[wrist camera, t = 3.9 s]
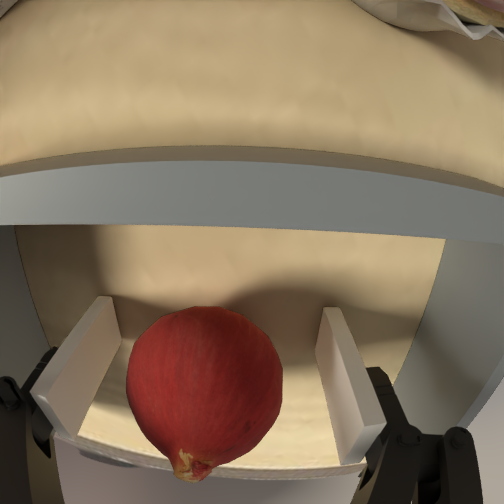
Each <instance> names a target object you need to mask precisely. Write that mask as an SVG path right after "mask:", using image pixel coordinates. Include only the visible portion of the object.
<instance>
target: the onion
mask: <svg viewBox="0 0 504 504" xmlns="http://www.w3.org/2000/svg"><path fill="white" fill-rule="evenodd" d="M282 383H283V368H282V365H281V363H280V360H279V357H278V354H277V352H276V350H275V348H274V347H273V345H272V343H271V341H270V339H269V337H268V336H267V335H266V334H265V333H264V332H263V331H262V330H260V329H259V328H258V327H257V326H256V325H254V324H253V323H252V322H251V321H249V320H248V319H247V318H246V317H244V316H243V315H241V314H238V313H236V312H233V311H230V310H227V309H224V308H222V307H198V306H194V307H191V308H188V309H184V310H181V311H178V312H174V313H171V314H168V315H165V316H162V317H160V318H159V319H158V320H157V321H156V322H155V323H154V324H153V325H151V326H150V327H149V328H148V329H147V330H146V331H145V332H144V333H143V334H142V335H141V336H140V337H139V338H138V340H137V341H136V342H135V343H134V346H133V349H132V352H131V355H130V358H129V364H128V371H127V378H126V394H127V398H128V402H129V405H130V408H131V410H132V412H133V415H134V417H135V419H136V422H137V424H138V426H139V427H140V429H141V431H142V433H143V434H144V435H145V437H146V438H147V439H148V440H149V441H150V442H151V443H152V444H153V445H154V446H155V447H156V448H157V449H158V450H159V451H160V452H161V453H162V454H163V455H165V456H166V457H168V458H169V460H170V462H171V465H172V467H173V469H174V475H175V476H176V477H177V478H178V479H181V480H183V481H186V482H190V483H197V482H199V481H201V480H203V479H204V478H205V477H206V476H208V475H209V473H211V472H212V469H213V468H214V467H216V466H219V465H222V464H226V463H229V462H231V461H233V460H235V459H237V458H239V457H241V456H242V455H244V454H246V453H248V452H250V451H251V450H252V449H253V448H254V447H255V446H256V445H257V444H258V443H259V442H260V441H261V440H262V438H263V437H264V436H265V435H266V433H267V432H268V431H269V430H270V428H271V427H272V426H273V424H274V422H275V421H276V419H277V417H278V415H279V413H280V408H281V404H282Z"/></svg>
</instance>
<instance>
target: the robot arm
mask: <svg viewBox="0 0 504 504" xmlns="http://www.w3.org/2000/svg"><path fill="white" fill-rule="evenodd" d="M121 343H122V338H121V334H120V330H119V326H118V322H117V318H116V314H115V309H114V305H113V300H112V297H108V296H98V297H97V298H96V299H95V301H94V302H93V303H92V304H91V306H90V307H89V308H88V310H87V311H86V312H85V313H84V315H83V316H82V317H81V319H80V320H79V321H78V323H77V324H76V325H75V327H74V328H73V329H72V331H71V332H70V333H69V335H68V336H67V338H66V339H65V340H64V342H63V343H62V344H61V346H60V347H59V348H57V347H53V348H51V349H50V350H49V351H47V352H46V353H45V354H44V355H43V357H42V358H41V360H40V363H38V364H37V365H36V367H35V369H34V370H33V371H32V372H31V374H30V375H29V377H28V378H27V380H26V381H25V383H24V384H23V386H22V387H21V389H20V388H19V386H18V385H17V383H16V381H15V380H14V378H12V377H10V376H3V377H0V504H65V503H64V499H63V494H62V490H61V485H60V479H59V474H58V467H57V461H56V454H55V446H54V439H53V436H52V435H51V432H52V430H53V428H54V429H55V431H56V432H57V433H58V435H59V436H61V437H64V438H67V439H70V440H73V441H75V439H76V436H77V434H78V432H79V429H80V427H81V425H82V423H83V420H84V418H85V416H86V414H87V412H88V409H89V407H90V405H91V403H92V401H93V399H94V397H95V394H96V392H97V390H98V388H99V386H100V384H101V382H102V380H103V378H104V376H105V374H106V372H107V370H108V368H109V366H110V364H111V362H112V360H113V358H114V356H115V354H116V352H117V350H118V348H119V346H120V344H121ZM315 356H316V360H317V364H318V368H319V372H320V376H321V380H322V385H323V389H324V393H325V397H326V402H327V406H328V410H329V415H330V419H331V423H332V428H333V432H334V437H335V442H336V446H337V451H338V456H339V460H340V465H348V464H354V463H360V462H361V461H362V459H363V458H364V456H365V457H366V461H367V465H366V466H365V468H364V469H363V470H362V471H361V473H360V474H359V476H358V477H361V479H360V481H359V484H358V486H357V489H356V492H355V494H354V496H353V499H352V501H351V503H350V504H411V501H412V504H483V496H482V488H481V480H480V474H479V467H478V461H477V456H476V450H475V446H474V441H473V438H472V435H471V433H470V432H469V431H468V430H467V429H465V428H463V427H458V426H455V427H451V428H450V429H448V430H447V431H446V432H445V434H444V435H436V434H424V433H422V432H421V431H420V430H419V429H418V428H417V427H415V426H413V425H410V424H409V422H408V420H407V418H406V416H405V413H404V411H403V409H402V406H401V404H400V402H399V400H398V397H397V395H396V394H395V391H394V388H393V386H392V384H391V382H390V380H389V377H388V375H387V374H386V373H385V372H384V371H383V370H382V369H381V368H380V367H369V368H365V366H364V363H363V361H362V358H361V356H360V353H359V351H358V349H357V346H356V344H355V342H354V339H353V337H352V335H351V332H350V330H349V328H348V325H347V323H346V321H345V319H344V316H343V314H342V312H341V309H340V307H324V308H323V313H322V318H321V323H320V328H319V333H318V338H317V343H316V347H315Z"/></svg>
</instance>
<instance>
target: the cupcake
mask: <svg viewBox="0 0 504 504" xmlns="http://www.w3.org/2000/svg"><path fill="white" fill-rule="evenodd" d="M351 1H353V2H354V3H355V4H357V5H358V6H359V7H361V8H362V9H364V10H365V11H367V12H368V13H370V14H372V15H373V16H375V17H377V18H378V19H380V20H382V21H384V22H387V23H390V24H393V25H396V26H399V27H402V28H405V29H409V30H414V31H420V32H422V31H441V30H451V31H454V32H456V33H458V34H461V35H463V36H466V37H468V38H470V39H472V40H477V39H481V38H483V37H484V36H485V35H486V36H489V37H492V38H495V39H498V40H501V41H503V42H504V0H351Z"/></svg>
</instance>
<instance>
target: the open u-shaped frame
mask: <svg viewBox="0 0 504 504" xmlns="http://www.w3.org/2000/svg"><path fill="white" fill-rule="evenodd" d="M43 224H121V225H182V226H220V227H249V228H275V229H297V230H318V231H337V232H354V233H371V234H387V235H401V236H415V237H429V238H442V239H446V242H445V246H444V250H443V254H442V258H441V261H440V265H439V268H438V272H437V275H436V279H435V282H434V285H433V288H432V291H431V294H430V297H429V300H428V303H427V306H426V309H425V312H424V315H423V317H422V320H421V323H420V325H419V328H418V331H417V333H416V336H415V338H414V341H413V343H412V345H411V348H410V350H409V353H408V355H407V357H406V359H405V362H404V364H403V366H402V368H401V370H400V373H399V375H398V377H397V379H396V381H395V383H394V385H393V388H394V391H395V394H396V395H397V397H398V400H399V402H400V404H401V406H402V409H403V411H404V413H405V416H406V418H407V420H408V422H409V424H410V425H413V426H415V427H417V428H418V429H419V430H420V431H421V432H422V433H424V434H436V435H444V434H445V432H446V431H447V430H448V429H450V428H451V427H455V426H458V427H463V428H465V429H466V428H467V427H468V426H469V424H470V423H471V422H472V421H473V419H474V418H475V417H476V416H477V414H478V413H479V412H480V410H481V409H482V408H483V406H484V405H485V403H486V402H487V401H488V399H489V398H490V397H491V395H492V394H493V392H494V391H495V389H496V388H497V386H498V385H499V383H500V382H501V380H502V379H503V377H504V188H502V187H499V186H496V185H494V184H491V183H488V182H485V181H482V180H479V179H476V178H473V177H469V176H465V175H461V174H457V173H452V172H448V171H444V170H439V169H434V168H430V167H425V166H420V165H414V164H409V163H403V162H398V161H392V160H386V159H379V158H372V157H365V156H358V155H350V154H342V153H333V152H324V151H314V150H302V149H289V148H273V147H253V146H163V147H143V148H128V149H115V150H104V151H94V152H85V153H77V154H69V155H62V156H55V157H48V158H42V159H36V160H30V161H25V162H19V163H14V164H9V165H5V166H0V377H3V376H10V377H12V378H14V380H15V381H16V383H17V385H18V386H19V388H20V389H21V387H22V386H23V384H24V383H25V381H26V380H27V378H28V377H29V375H30V374H31V372H32V371H33V370H34V369H35V367H36V365H37V364H38V363H40V360H41V358H42V357H43V355H44V354H45V353H46V352H47V351H49V350H50V346H49V344H48V341H47V339H46V336H45V334H44V331H43V329H42V326H41V323H40V321H39V318H38V315H37V312H36V309H35V306H34V303H33V300H32V297H31V294H30V291H29V287H28V284H27V281H26V277H25V273H24V270H23V266H22V262H21V258H20V253H19V249H18V245H17V240H16V235H15V230H14V225H43ZM55 432H56V431H55V429H54V428H53V430H52V432H51V435H52V436H54V434H55Z"/></svg>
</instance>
